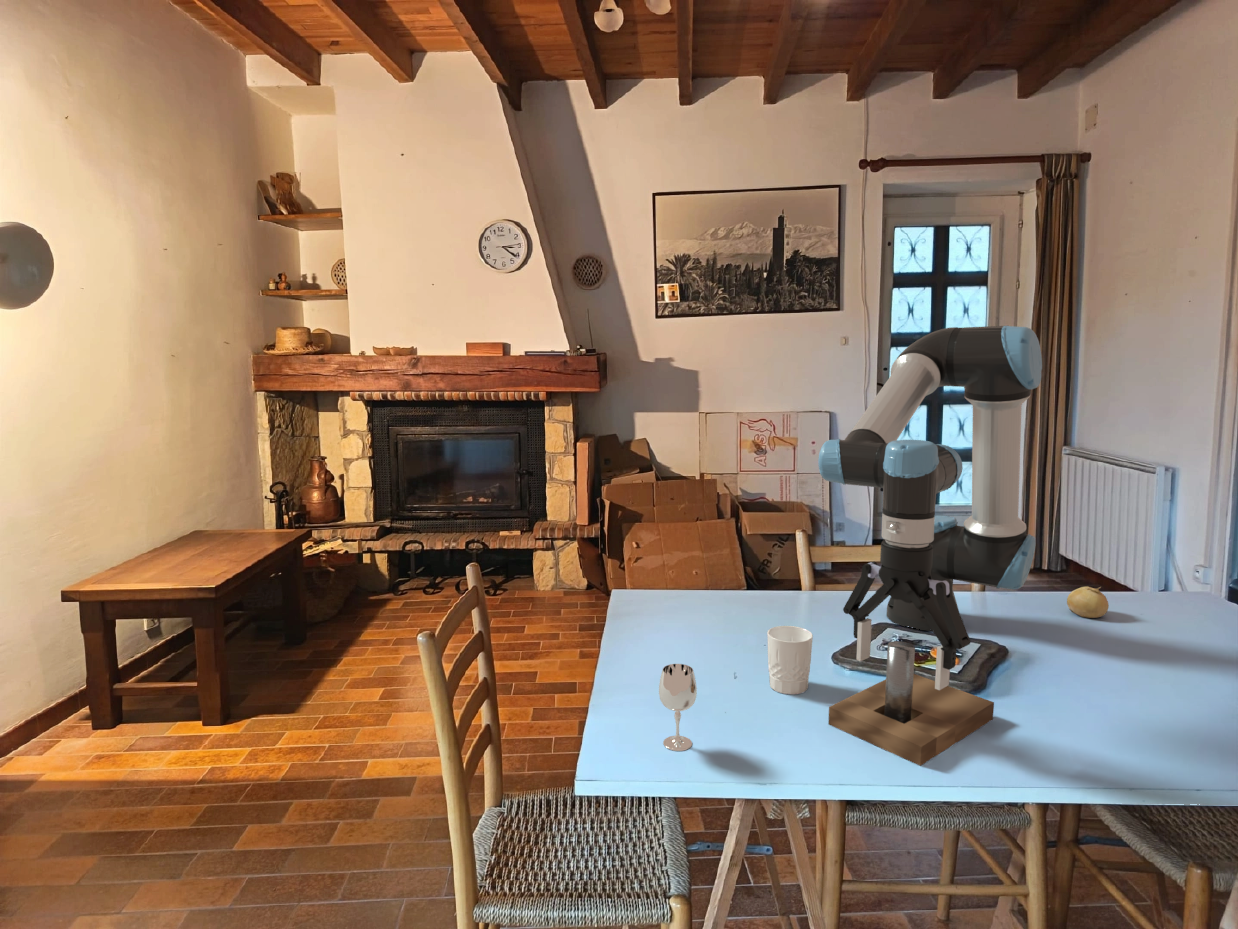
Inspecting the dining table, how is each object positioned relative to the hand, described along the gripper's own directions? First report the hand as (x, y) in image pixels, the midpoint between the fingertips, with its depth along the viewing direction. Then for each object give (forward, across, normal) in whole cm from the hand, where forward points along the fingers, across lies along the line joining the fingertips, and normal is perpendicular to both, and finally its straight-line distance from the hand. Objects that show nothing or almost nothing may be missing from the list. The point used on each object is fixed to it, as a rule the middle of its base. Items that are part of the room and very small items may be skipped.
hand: (900, 672), depth 120 cm
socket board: (+10, 0, +4) cm, 10 cm away
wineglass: (+9, -19, -30) cm, 37 cm away
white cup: (+10, -21, -1) cm, 23 cm away
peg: (+10, 0, 0) cm, 10 cm away
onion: (+11, -2, +80) cm, 80 cm away
